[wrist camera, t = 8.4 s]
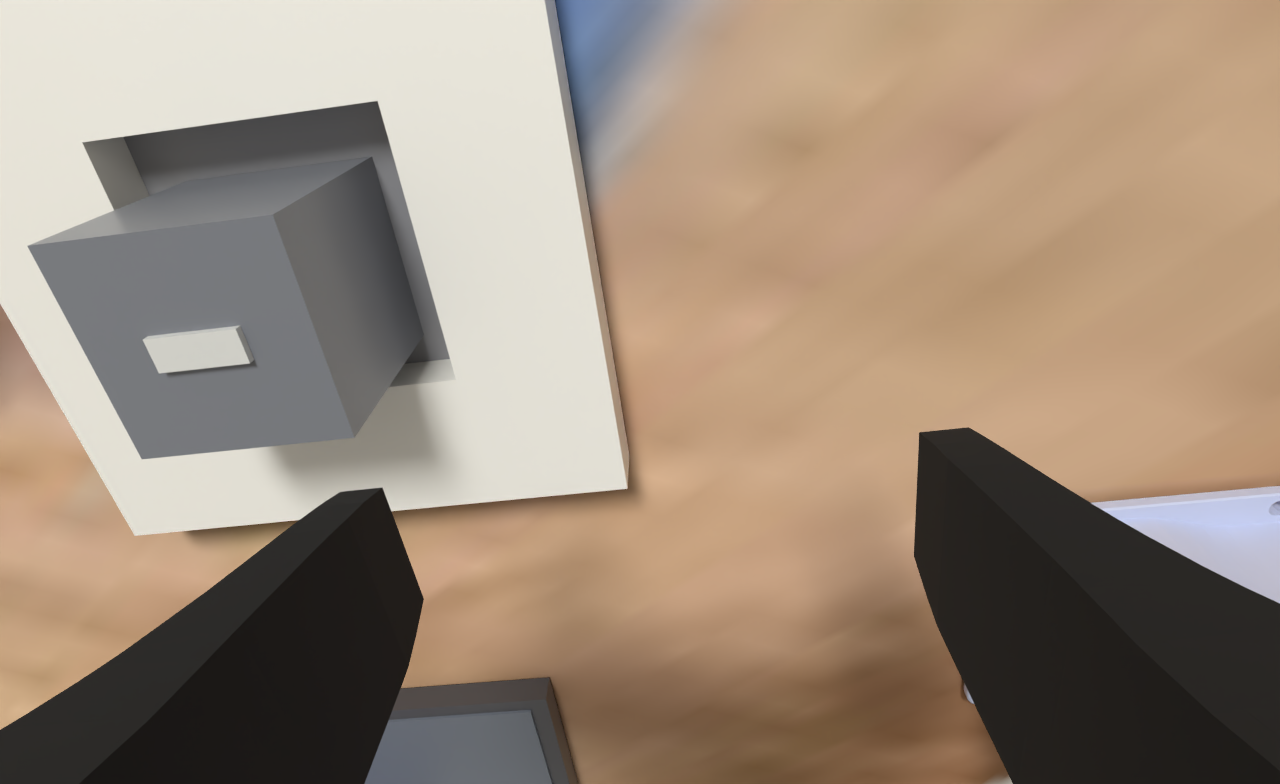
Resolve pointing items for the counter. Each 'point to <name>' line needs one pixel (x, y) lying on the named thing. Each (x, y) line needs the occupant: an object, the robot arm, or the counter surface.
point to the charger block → (240, 307)
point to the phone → (475, 736)
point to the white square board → (418, 209)
